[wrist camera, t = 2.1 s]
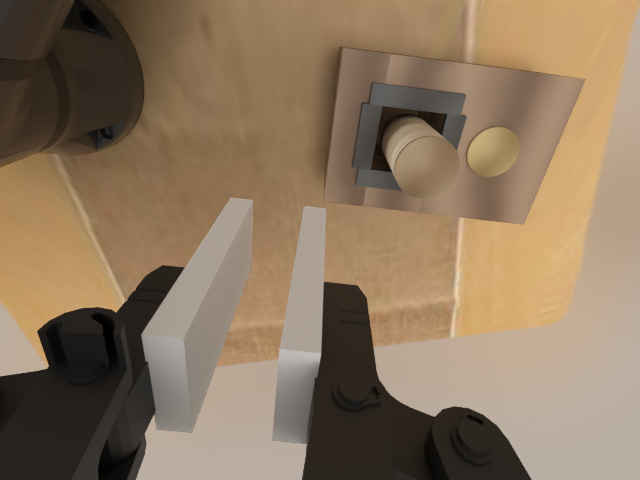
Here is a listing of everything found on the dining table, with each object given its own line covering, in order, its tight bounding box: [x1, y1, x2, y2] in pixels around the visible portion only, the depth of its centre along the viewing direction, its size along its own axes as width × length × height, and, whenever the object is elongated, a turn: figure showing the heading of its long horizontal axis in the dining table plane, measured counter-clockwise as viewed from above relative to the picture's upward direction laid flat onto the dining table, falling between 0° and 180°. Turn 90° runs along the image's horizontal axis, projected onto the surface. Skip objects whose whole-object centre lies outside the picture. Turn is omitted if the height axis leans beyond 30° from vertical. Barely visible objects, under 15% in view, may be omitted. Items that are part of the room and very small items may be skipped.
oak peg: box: [380, 114, 460, 199], centre depth 26 cm, size 4×4×8 cm
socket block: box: [324, 47, 586, 225], centre depth 33 cm, size 18×12×9 cm, turn 84°
